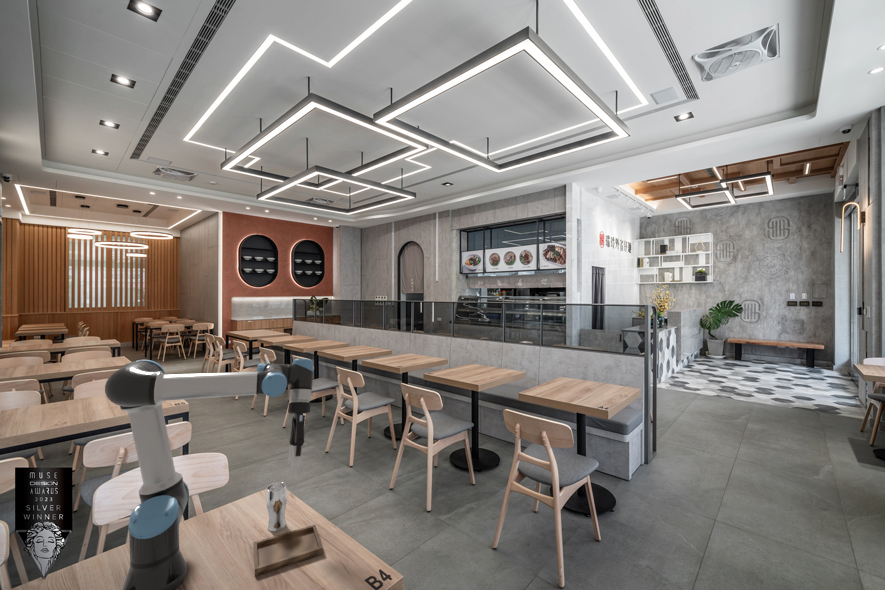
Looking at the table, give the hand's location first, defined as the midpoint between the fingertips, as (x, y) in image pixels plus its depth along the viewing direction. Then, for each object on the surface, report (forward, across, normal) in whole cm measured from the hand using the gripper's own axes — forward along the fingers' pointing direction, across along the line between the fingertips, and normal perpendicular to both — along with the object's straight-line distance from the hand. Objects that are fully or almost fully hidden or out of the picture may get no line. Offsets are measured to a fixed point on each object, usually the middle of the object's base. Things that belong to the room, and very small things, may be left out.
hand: (294, 465), depth 132 cm
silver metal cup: (+22, +19, +2) cm, 29 cm away
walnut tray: (+26, +3, -1) cm, 27 cm away
